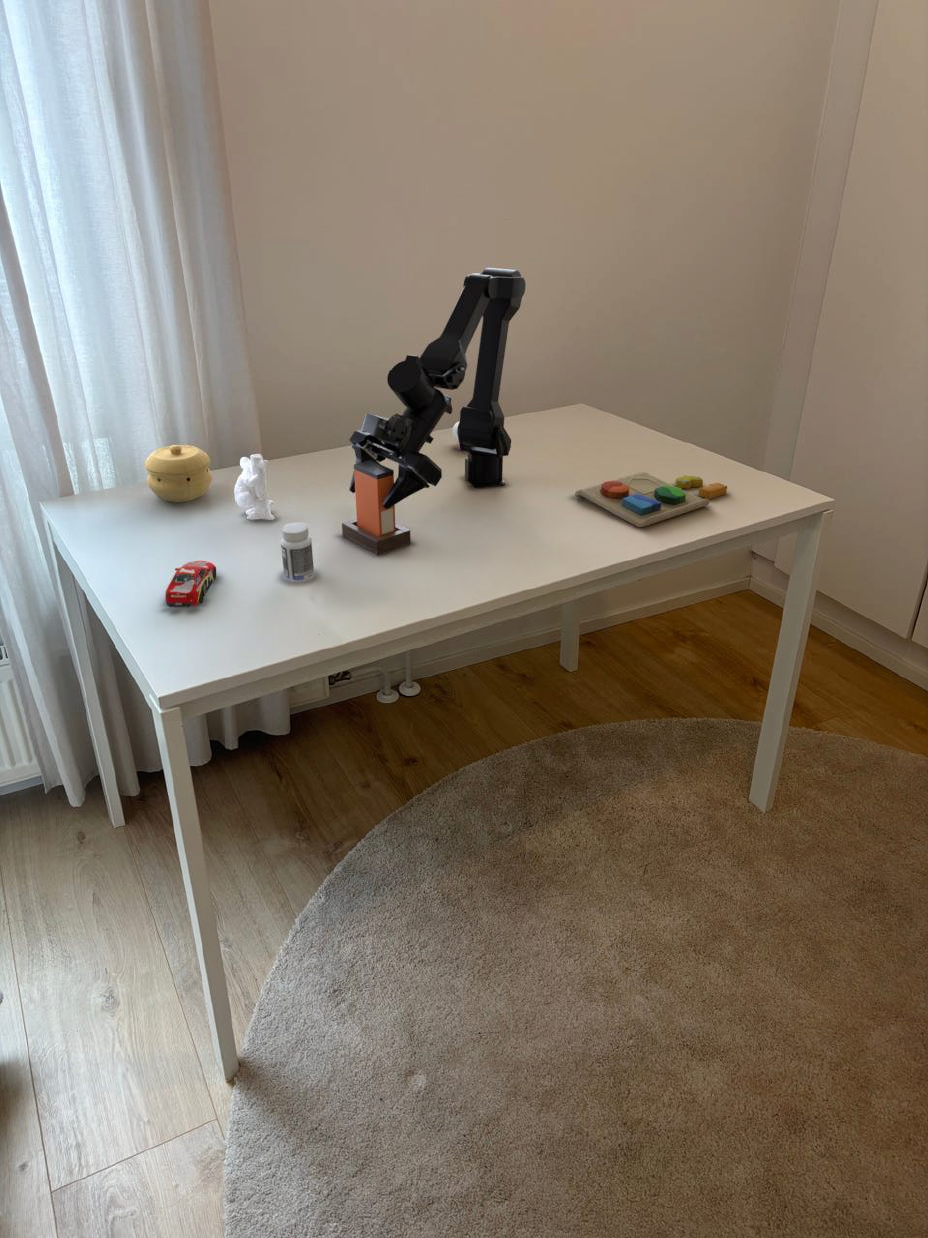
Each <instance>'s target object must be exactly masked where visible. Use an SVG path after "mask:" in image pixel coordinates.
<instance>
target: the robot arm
mask: <svg viewBox="0 0 928 1238" xmlns="http://www.w3.org/2000/svg"><path fill="white" fill-rule="evenodd" d="M526 288H527V287H526V280H525V278H524V277H523V276H522V274H521V272H520V271H519V270H516V269H508V268H507V269H506V268H495V267H485V268H484V269H483V271H482V272H480V273H471V274H466V276H465V278H464V280H463V286H462V290H461V293H460V295H459V297H458V299H457V301H456V303H455V305H454V308H453V309H452V311H451V313H450V316H449V318H448V320H447V322H446V324H445V326H444V328H443V330H442V332H441V334H440V336H439V337H437V338H436V339H434V340H433V341H431V342H430V343H428V344H427V345H426V347H425V349H424V350H423V352H422V354H421V355H420V356H418V355H414V354H407V355H406V357H405V359H404V360H401V361H399V362H397V363H396V364H395V365H394V366H393V367H392V368H391V369H390V370H389V371H388V373H387V378H386V379H387V380H386V381H387V386H388V387H389V389H390V390H391V391H392V392H393V393H394V394H395V396H396V397H397V398H398V400H399V401H400V402H401V404H403V406H405V409H404V411H403V412H402V413H401V414H399V413H395V414H393V415H392V416H391V417H390V418H386V417H383V416H380V415H376V414H373V413H370V412H366V413H365V417H364V420H363V423H362V426H361V428H360V429H356V430H354V431H353V433H352V434H351V436H350V438H349V439H348V440H349V442H350V443H351V448H352V449H353V450H354V454H355V463H354V464H358V463H361V462H365V461H369V460H371V461H374V462H376V463H378V464H380V465H382V464H381V462H383V461H385V460H386V459H387V460H390V461H392V462H395V463H397V464H398V471H397V473H398V474H397V477H396V479H395V480H394V484H393V486H392V488H391V490H390V491H389V493H388V495H387V497H386V498H385V501H384V503H383V505H382V506H383V507H384V508H385V509H389V508H390V507H392V506H393V505H395V506H396V505H397V504H398V503H400V502H401V501H403V500H405V499H406V498H408V497H410V496H412V495H414V494H416V493H418V492H420V491H421V490H423V489H429V488H430V486H434V487H437V485H438V484H439V482H440V480H441V479H442V478H443V475H442V474H443V469H442V468H441V467H440V466H438V464H436V463H435V462H434V460H432V459H431V458H430V457H429V456H428V455H426V454H424V453H421V452H420V451H421V450H422V448H423V446H424V445H425V444H426V443H427V444H432V443H433V441H434V438H433V436H431V434H433V433H432V432H433V431H434V429H435V428H436V427H437V425H438V423H439V422H440V420H441V418H442V417H443V415H444V414H445V413H446V414H448V415H451V414H452V413H453V405H452V397H450V396H449V395H447V394H444V393H443V392H442V391H441V390H449V391H453V390H457V389H458V388H459V387H460V386H461V384H462V383H463V382H464V380H465V377H466V371H467V368H468V362H467V356H466V353H467V351H468V347H469V346H470V343H471V341H472V339H473V337H474V336H475V333H476V330H477V329H478V326H479V324H480V323H481V320H482V323H481V332H480V337H479V338H480V339H479V347H478V353H477V362H476V369H475V370H476V371H475V376H474V383H473V390H472V391H473V392H472V396H471V397H472V398H471V400H470V401H469V402H468V403H467V405H466V406H462V407H461V409H460V412H459V421H458V422H459V424H458V428H457V435H458V440H459V443H458V445H459V447H460V449H459V451H461V452H466V453H467V457H465V459H464V479H465V480H466V482H468V483H469V484H470V486H471V487H472V488H473V489H479V488H489V487H500V486H501V487H502V486H505V485H506V482H505V480H504V479H503V470H504V469H503V468H504V467H503V465H504V457H507V456H509V455H510V451H511V448H512V438H511V437H510V435H509V434H508V431H507V430H506V429H505V415H504V411H503V410H502V407H501V405H500V403H499V397H500V390H501V383H502V375H503V369H504V362H505V355H506V347H507V340H508V333H509V327H510V321H511V320H512V319H513V318H514V316H515V315H516V314H517V313H518V311H519V310H520V308H521V304H522V299H523V297H524V295H525V292H526ZM348 490H349V492H351V493H352V494H355V477H354V471H352V475H351V480H350V484H349V488H348Z"/></svg>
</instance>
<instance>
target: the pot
mask: <svg viewBox="0 0 928 1238" xmlns="http://www.w3.org/2000/svg"><path fill="white" fill-rule="evenodd" d="M210 465H211V459H210V457H209V456H208V454H207V453H206V452H205V451H204V450H202V449H200V448H198V447H196V446H193V445H188V444H187V445H186V444H173V445H168V446H163V447H161V448H157V449H156V450H154V451H153V452H152V453H150V454H149V456H148V457H147V459H145V462H144V470H145V471H146V473H148V476H147V478H146V484H147V486H148V488H149V489H150V491H152V493H153V494H154V495H155V496H157V497H158V498H160V499H162V500H164V501H167V502H173V503H180V502H188V501H192V500H195V499H198V498H200V497H202V496H204V495H205V494H206V492H207V491H208V490H209V488H210V486H211V484H212V481H213V473H212V471H211V470H210V469H209V467H210Z"/></svg>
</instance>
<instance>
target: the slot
mask: <svg viewBox="0 0 928 1238" xmlns="http://www.w3.org/2000/svg"><path fill="white" fill-rule="evenodd" d="M395 528H396V532H393V533H390V534H387V535H384V536H381V537H379V538H378V537H377V536H375V535H373V534H371V533H369V532H367V531H365V530H363V529H361V528H359V527H357V517H356V518H354V519H350V520H347V521H344V522H342V523H341V532H342V533H341V534H342V538H345V539H347V540H348V541H350V542H352V543H354V544H356V545H358V546H359V547H361V548H364V549H365V550H367V551H369V552H371V553H372V554H375V555H376V556H379V555H382V554H385V553H388V552H391V551H393V550H397V549H399V548H402V547H405V546H408V545H411V542H412V541H411V529H409V528H407V527H405V526H403V525H401V524H399V523H396V522H395Z"/></svg>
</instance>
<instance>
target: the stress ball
mask: <svg viewBox="0 0 928 1238" xmlns="http://www.w3.org/2000/svg"><path fill="white" fill-rule="evenodd" d="M458 424H459V421H457V422H456V423H455V424H454V425H453V427H452V436H453V439H454V441H456V443H458V444H459V440H458V435H457V428H458ZM457 450H460V446H459V447H457Z"/></svg>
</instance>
